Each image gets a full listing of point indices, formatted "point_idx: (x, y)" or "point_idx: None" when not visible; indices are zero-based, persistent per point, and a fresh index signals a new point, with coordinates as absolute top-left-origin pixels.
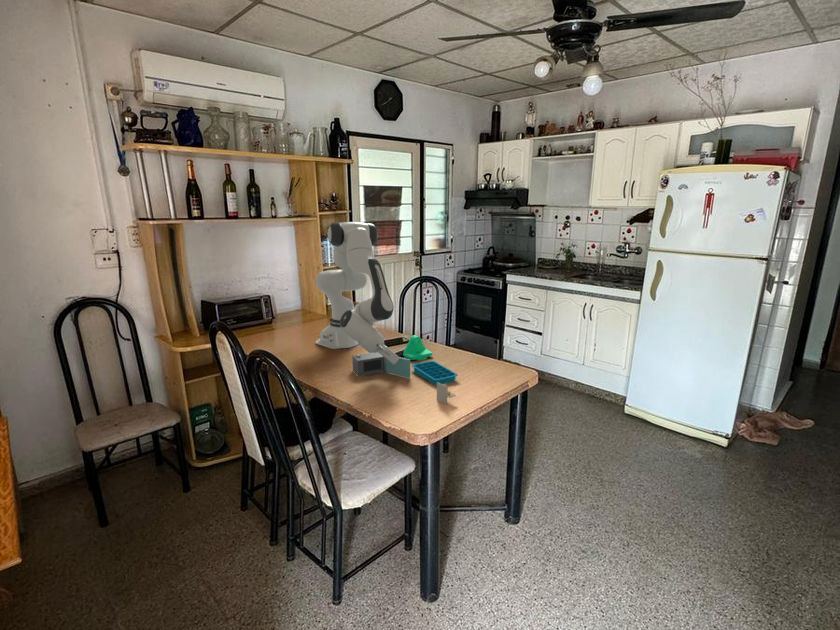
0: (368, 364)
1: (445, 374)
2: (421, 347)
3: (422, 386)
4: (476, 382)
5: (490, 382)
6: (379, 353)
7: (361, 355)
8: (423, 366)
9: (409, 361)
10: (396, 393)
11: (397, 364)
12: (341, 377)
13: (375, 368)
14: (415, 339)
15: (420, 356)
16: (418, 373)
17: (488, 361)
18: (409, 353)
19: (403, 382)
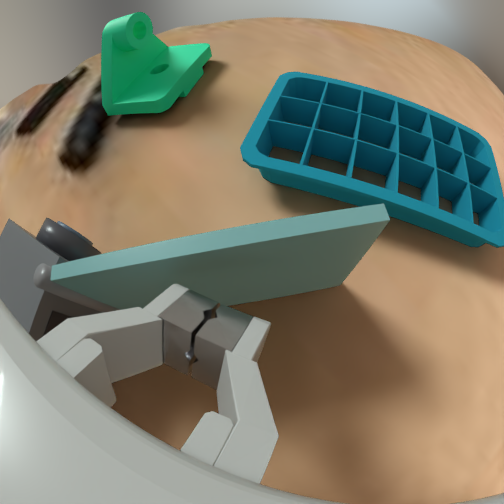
0: None
1: (466, 156)
2: (154, 48)
3: (463, 310)
4: (495, 138)
5: (501, 123)
6: (11, 250)
7: None
8: (312, 131)
9: (382, 227)
10: (421, 481)
11: (217, 281)
12: None
13: None
14: (129, 27)
15: (186, 77)
16: (322, 192)
17: (367, 28)
18: (130, 92)
19: (354, 360)
